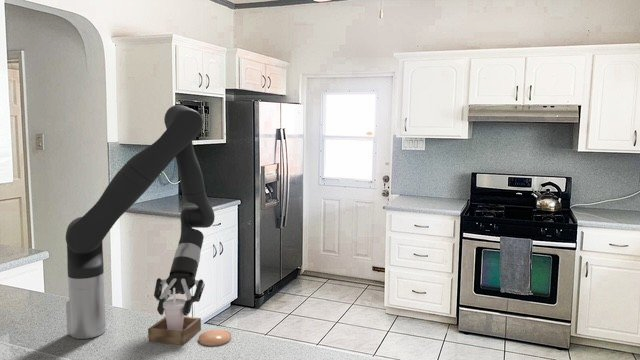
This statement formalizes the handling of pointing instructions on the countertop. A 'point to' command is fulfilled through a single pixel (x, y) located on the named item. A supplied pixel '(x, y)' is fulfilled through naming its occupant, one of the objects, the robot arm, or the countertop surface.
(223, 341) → the peach glossy dome
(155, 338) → the crate
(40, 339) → the countertop surface
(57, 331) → the countertop surface
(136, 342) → the countertop surface
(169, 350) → the countertop surface
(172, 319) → the smoothie
